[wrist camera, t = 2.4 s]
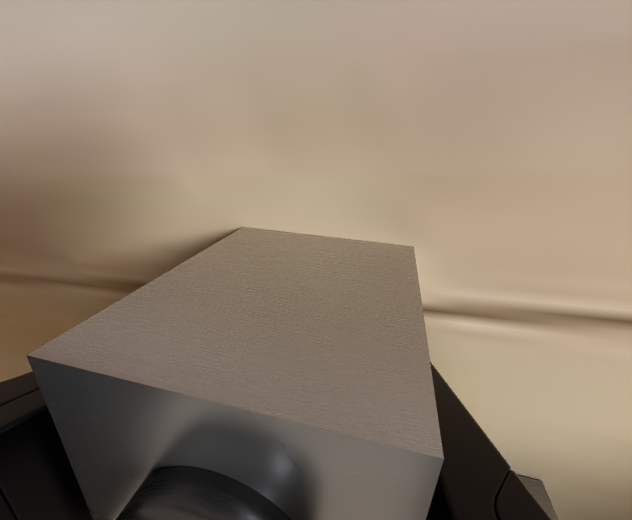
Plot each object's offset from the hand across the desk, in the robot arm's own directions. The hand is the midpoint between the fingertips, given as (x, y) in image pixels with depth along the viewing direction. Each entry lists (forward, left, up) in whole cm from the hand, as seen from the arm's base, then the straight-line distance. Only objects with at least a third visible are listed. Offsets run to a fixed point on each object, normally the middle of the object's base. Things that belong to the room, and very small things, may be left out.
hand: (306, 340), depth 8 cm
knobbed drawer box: (0, 0, -2) cm, 2 cm away
